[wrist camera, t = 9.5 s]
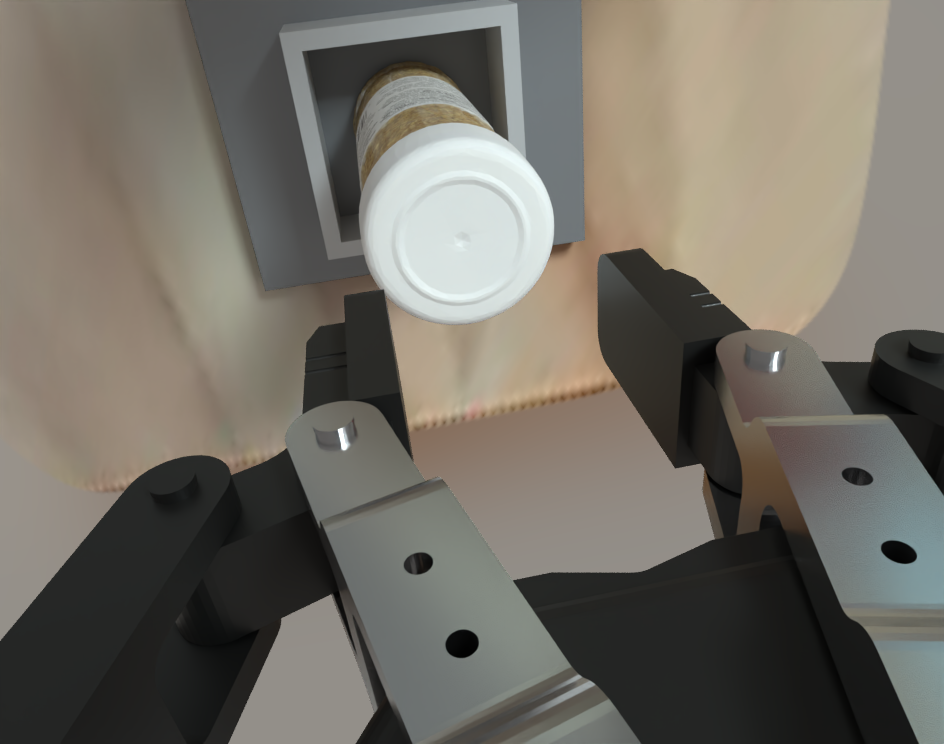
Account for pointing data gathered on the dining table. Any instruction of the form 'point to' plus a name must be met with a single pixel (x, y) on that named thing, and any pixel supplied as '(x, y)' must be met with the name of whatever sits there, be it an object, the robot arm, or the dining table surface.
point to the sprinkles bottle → (445, 200)
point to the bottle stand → (335, 95)
